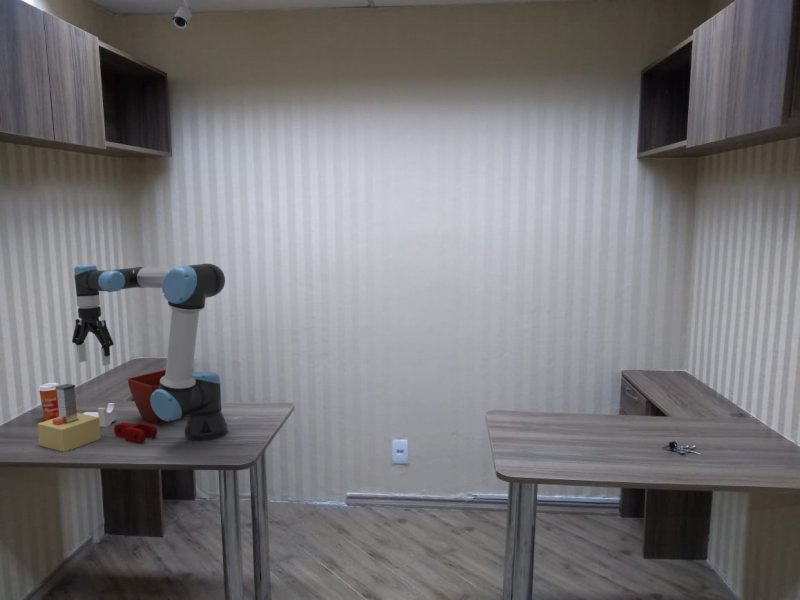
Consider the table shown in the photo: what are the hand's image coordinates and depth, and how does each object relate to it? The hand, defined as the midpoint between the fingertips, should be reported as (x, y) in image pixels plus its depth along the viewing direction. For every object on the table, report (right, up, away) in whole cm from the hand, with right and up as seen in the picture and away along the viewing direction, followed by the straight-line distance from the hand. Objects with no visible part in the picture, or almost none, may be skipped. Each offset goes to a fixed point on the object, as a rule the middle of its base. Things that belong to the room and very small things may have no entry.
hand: (94, 363), depth 224 cm
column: (-5, -28, -7) cm, 29 cm away
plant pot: (+19, -24, +18) cm, 36 cm away
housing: (-5, -28, -7) cm, 29 cm away
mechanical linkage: (+16, -27, -4) cm, 32 cm away
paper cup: (-26, -24, +18) cm, 40 cm away
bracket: (-6, -25, +12) cm, 29 cm away
